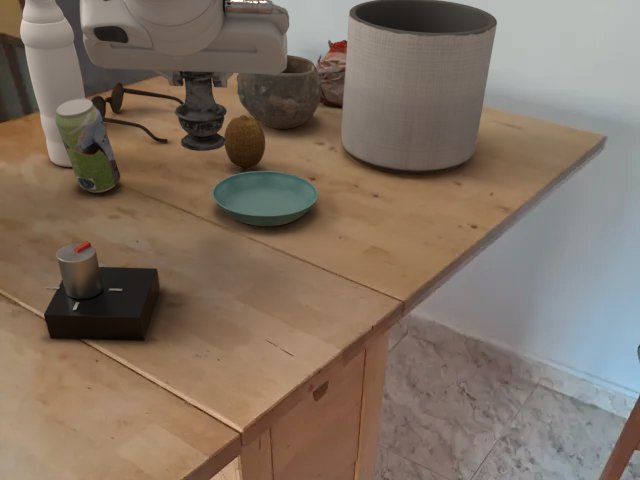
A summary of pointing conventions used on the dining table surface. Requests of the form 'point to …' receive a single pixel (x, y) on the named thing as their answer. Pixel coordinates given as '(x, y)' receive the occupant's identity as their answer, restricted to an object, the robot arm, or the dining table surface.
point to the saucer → (265, 197)
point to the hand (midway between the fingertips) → (198, 80)
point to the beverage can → (87, 145)
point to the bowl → (282, 94)
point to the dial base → (107, 307)
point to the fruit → (244, 142)
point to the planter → (415, 83)
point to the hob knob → (80, 270)
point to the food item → (333, 73)
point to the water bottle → (51, 67)
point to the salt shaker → (200, 113)
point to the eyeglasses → (116, 104)
